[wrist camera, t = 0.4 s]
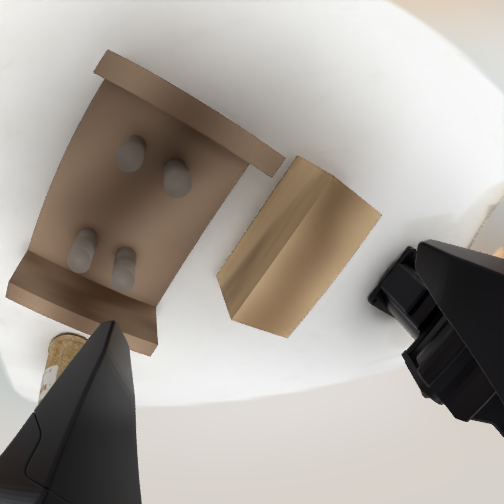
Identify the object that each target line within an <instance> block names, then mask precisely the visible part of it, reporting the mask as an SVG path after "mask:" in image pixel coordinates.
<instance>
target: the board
mask: <svg viewBox="0 0 504 504" xmlns="http://www.w3.org/2000/svg"><path fill="white" fill-rule="evenodd" d="M381 216H382V215H381V214H380V213H379V212H378V211H377V210H375V209H374V208H373V207H372V206H370V205H369V204H368V203H367V202H366V201H364V200H363V199H362V198H361V197H359V196H358V195H357V194H356V193H354V192H353V191H352V190H351V189H349V188H348V187H347V186H346V185H344V184H343V183H342V182H340V181H339V180H338V179H337V178H335V177H334V176H332V175H331V174H329V173H327V172H325V171H324V170H322V169H320V168H318V167H317V166H315V165H313V164H311V163H310V162H308V161H306V160H304V159H302V158H300V157H299V156H297V157H296V158H295V160H294V161H293V163H292V164H291V166H290V167H289V169H288V170H287V172H286V173H285V175H284V176H283V177H282V179H281V180H280V182H279V183H278V185H277V186H276V188H275V189H274V191H273V192H272V194H271V195H270V197H269V198H268V200H267V201H266V203H265V204H264V206H263V207H262V209H261V210H260V212H259V213H258V215H257V216H256V217H255V219H254V220H253V222H252V223H251V225H250V226H249V228H248V229H247V231H246V232H245V234H244V235H243V237H242V238H241V240H240V241H239V243H238V244H237V246H236V247H235V249H234V250H233V252H232V253H231V255H230V257H229V258H228V260H227V261H226V263H225V264H224V266H223V267H222V269H221V270H220V272H219V273H218V275H217V279H218V282H219V285H220V288H221V291H222V294H223V297H224V300H225V303H226V306H227V309H228V312H229V315H230V317H231V320H234V321H236V322H239V323H242V324H245V325H248V326H251V327H254V328H257V329H260V330H264V331H267V332H270V333H273V334H276V335H279V336H282V337H286V338H288V337H289V336H290V335H291V333H292V332H293V331H294V330H295V329H296V327H297V326H298V325H299V324H300V322H301V321H302V320H303V319H304V318H305V316H306V315H307V314H308V313H309V311H310V310H311V309H312V308H313V306H314V305H315V304H316V303H317V301H318V300H319V299H320V298H321V296H322V295H323V294H324V293H325V291H326V290H327V289H328V287H329V286H330V285H331V284H332V282H333V281H334V280H335V278H336V277H337V276H338V275H339V273H340V272H341V271H342V269H343V268H344V267H345V265H346V264H347V263H348V261H349V260H350V259H351V257H352V256H353V255H354V253H355V252H356V251H357V249H358V248H359V246H360V245H361V244H362V242H363V241H364V240H365V238H366V237H367V235H368V234H369V233H370V231H371V230H372V228H373V227H374V226H375V224H376V223H377V221H378V220H379V219H380V217H381Z"/></svg>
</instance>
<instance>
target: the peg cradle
mask: <svg viewBox="0 0 504 504" xmlns="http://www.w3.org/2000/svg"><path fill="white" fill-rule="evenodd" d="M93 73H95V74H97V75H99V76H101V77H103V78H105V79H104V81H103V83H102V84H101V86H100V88H99V89H98V91H97V93H96V94H95V96H94V98H93V100H92V101H91V103H90V105H89V107H88V108H87V110H86V112H85V114H84V116H83V118H82V120H81V121H80V123H79V125H78V127H77V129H76V131H75V133H74V135H73V137H72V139H71V141H70V143H69V145H68V147H67V149H66V152H65V154H64V156H63V158H62V160H61V163H60V165H59V167H58V169H57V172H56V174H55V176H54V179H53V181H52V184H51V186H50V188H49V191H48V193H47V196H46V199H45V201H44V204H43V207H42V209H41V212H40V215H39V218H38V220H37V223H36V226H35V229H34V232H33V235H32V239H31V242H30V245H29V248H28V251H27V252H26V254H25V256H24V257H23V259H22V260H21V262H20V264H19V265H18V267H17V269H16V270H15V272H14V274H13V275H12V277H11V279H10V280H9V283H8V287H7V292H6V298H8V299H10V300H12V301H14V302H16V303H18V304H20V305H23V306H25V307H27V308H29V309H31V310H33V311H35V312H37V313H39V314H42V315H44V316H46V317H48V318H51V319H53V320H55V321H57V322H60V323H62V324H64V325H67V326H69V327H72V328H74V329H76V330H79V331H81V332H84V333H86V334H89V335H92V334H93V332H94V331H95V330H96V329H97V327H98V326H99V325H100V324H101V323H102V322H106V321H111V320H115V321H117V323H118V324H119V326H120V328H121V330H122V332H123V334H124V336H125V338H126V340H127V342H128V345H129V349H130V350H132V351H135V352H138V353H141V354H144V355H147V356H151V355H152V353H153V352H154V350H155V349H156V347H157V345H158V338H157V323H156V306H157V305H158V303H159V301H160V300H161V298H162V296H163V295H164V293H165V292H166V290H167V288H168V287H169V285H170V283H171V282H172V280H173V279H174V277H175V275H176V274H177V272H178V271H179V269H180V268H181V266H182V264H183V263H184V261H185V260H186V258H187V256H188V255H189V253H190V252H191V250H192V249H193V247H194V246H195V244H196V242H197V241H198V239H199V238H200V236H201V235H202V233H203V232H204V230H205V229H206V227H207V226H208V224H209V223H210V221H211V220H212V218H213V216H214V215H215V213H216V212H217V210H218V209H219V207H220V206H221V204H222V203H223V202H224V200H225V199H226V197H227V196H228V194H229V193H230V191H231V190H232V188H233V187H234V185H235V184H236V182H237V181H238V179H239V178H240V177H241V175H242V174H243V172H244V171H245V169H246V168H247V166H248V165H249V164H252V165H253V166H255V167H256V168H258V169H259V170H261V171H262V172H264V173H265V174H267V175H268V176H270V177H271V178H272V177H273V175H274V174H275V173H276V171H277V170H278V168H279V167H280V165H281V164H282V163H283V161H284V160H285V159H286V158H285V157H283V156H282V155H281V154H279V153H278V152H276V151H275V150H273V149H272V148H271V147H269V146H268V145H266V144H265V143H263V142H262V141H261V140H259V139H258V138H256V137H255V136H253V135H252V134H250V133H249V132H247V131H246V130H244V129H243V128H241V127H240V126H238V125H237V124H235V123H234V122H232V121H231V120H229V119H228V118H226V117H225V116H223V115H221V114H220V113H218V112H217V111H215V110H214V109H212V108H210V107H209V106H207V105H206V104H204V103H202V102H201V101H199V100H198V99H196V98H194V97H193V96H191V95H189V94H188V93H186V92H184V91H183V90H181V89H179V88H178V87H176V86H174V85H172V84H171V83H169V82H167V81H166V80H164V79H162V78H160V77H159V76H157V75H155V74H153V73H151V72H150V71H148V70H146V69H144V68H142V67H141V66H139V65H137V64H135V63H133V62H131V61H129V60H128V59H126V58H124V57H122V56H120V55H118V54H116V53H114V52H112V51H110V50H107V51H106V53H105V54H104V56H103V57H102V59H101V61H100V62H99V64H98V65H97V67H96V68H95V70H94V72H93Z"/></svg>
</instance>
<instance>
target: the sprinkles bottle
mask: <svg viewBox="0 0 504 504" xmlns="http://www.w3.org/2000/svg"><path fill="white" fill-rule="evenodd" d="M86 341H87V340H85V339H83V338H81V337H78V336H75V335H70V334H68V335H61V336H59V337H56V338H55V339H54V340H52V342H51V343H50V345H49V349H48V352H49V355H48V359H47V364H46V368H45V372H44V374H43V378H42V383H41V389H40V395H39V400H38V404H39V403H40V402H41V400H42V399H43V397H44V396H45V395H46V393H47V392H48V391H49V389H50V388H51V387H52V385H53V384H54V383H55V381H56V380H57V379H58V377H59V376H60V375H61V373H62V372H63V371H64V369H65V368H66V367H67V365H68V364H69V363H70V362H71V360H72V359H73V358H74V356H75V355H76V354H77V353H78V351H79V350H80V349H81V347H82V346H83V345H84V344H85V342H86Z"/></svg>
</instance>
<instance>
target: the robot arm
mask: <svg viewBox="0 0 504 504" xmlns="http://www.w3.org/2000/svg"><path fill="white" fill-rule="evenodd" d="M368 301H369V302H370V303H371V305H373V306H375V307H377V308H378V309H380V310H382V311H384V312H386V313H387V314H389V315H391V316H393V317H394V318H396V319H397V320H398V321H399V322H400V323H401V325H402V326H403V327H404V328H405V329H406V330H407V331H408V332H409V334H410V335H411V336H412V337H413V338H414V339H415V341H414V342H413V343H412V345H411V346H410V347H409V348H408V349H407V350H405V351H404V352H403V353H402V356H403V358H404V360H405V364H406V365H407V367H408V369H409V370H410V372H411V374H412V376H413V378H414V379H415V381H416V383H417V384H418V386H419V388H420V390H421V393H422V395H423V396H424V397H425V398H431V399H432V400H433V401H435V402H436V403H438V404H441V405H443V404H444V405H446V407H447V408H448V409H449V411H450V412H451V413H452V415H453V416H454V417H455V418H457V419H459V420H462V421H465V422H468V421H469V420H475V421H480V422H485V423H489V424H492V425H493V426H494V427H495V428H496V429H497V430H498V431H499V432H500V434H501V435H502V436H503V437H504V259H502V258H499V257H495V256H492V255H488V254H484V253H481V252H477V251H473V250H470V249H466V248H462V247H459V246H455V245H451V244H447V243H443V242H439V241H435V240H431V239H428V240H425V241H422V242H420V243H419V244H418V247H417V251H416V250H415V249H414V248H413V247H409V248H408V249H407V250H406V251H405V253H404V254H403V255H402V257H401V258H400V259H399V261H398V262H397V263H396V265H395V266H394V267H393V268H392V270H391V271H390V272H389V274H388V275H387V276H386V277H385V279H384V280H383V281H382V282H381V284H380V285H379V286H378V287H377V289H376V290H375V291H374V292H373V293H372V295H371V296H370V297H369V299H368ZM34 412H35V413H34ZM34 412H33V413H32V414H31V416H30V417H29V418H28V420H27V421H26V423H25V424H24V425H23V427H22V428H21V429H20V431H19V432H18V434H17V435H16V437H15V438H14V439H13V440H12V442H11V443H10V444H9V446H8V447H7V448H6V449H5V451H4V452H3V453H2V454H1V455H0V504H142V502H141V493H140V484H139V471H138V457H137V440H136V415H135V394H134V386H133V377H132V369H131V359H130V349H129V345H128V342H127V340H126V338H125V336H124V334H123V332H122V330H121V328H120V326H119V324H118V323H117V321H115V320H111V321H106V322H102V323H101V324H100V325H99V326H98V327H97V329H96V330H95V331H94V332H93V334H92V335H91V336H90V337H89V339H88V340H87V341H86V342H85V344H84V345H83V346H82V347H81V349H80V350H79V351H78V353H77V354H76V355H75V356H74V358H73V359H72V360H71V362H70V363H69V364H68V365H67V367H66V368H65V369H64V371H63V372H62V373H61V375H60V376H59V377H58V379H57V380H56V381H55V383H54V384H53V385H52V387H51V388H50V389H49V391H48V392H47V393H46V395H45V396H44V397H43V399H42V400H41V402H40V403H39V404H38V406H37V407H36V409H35V410H34Z"/></svg>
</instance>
